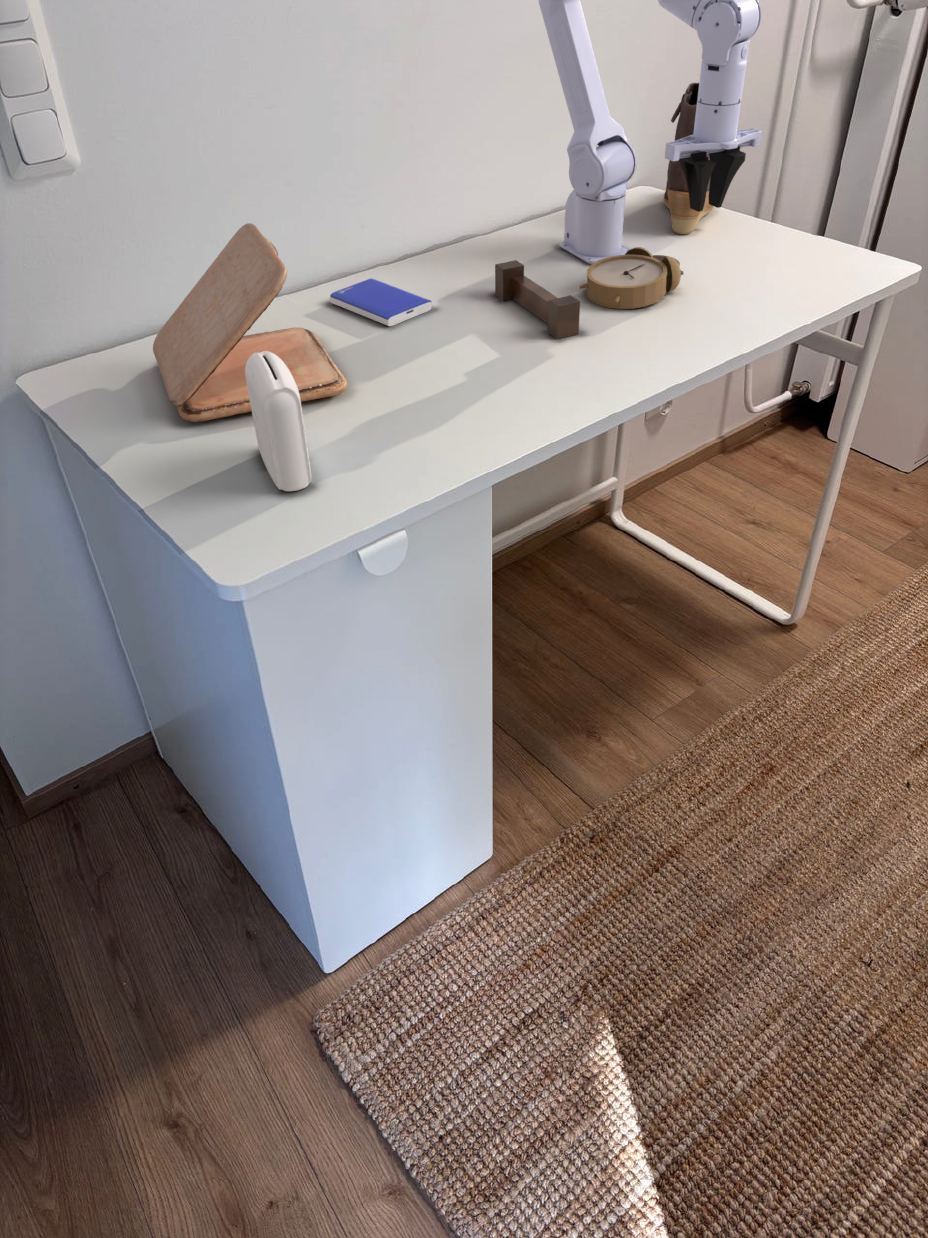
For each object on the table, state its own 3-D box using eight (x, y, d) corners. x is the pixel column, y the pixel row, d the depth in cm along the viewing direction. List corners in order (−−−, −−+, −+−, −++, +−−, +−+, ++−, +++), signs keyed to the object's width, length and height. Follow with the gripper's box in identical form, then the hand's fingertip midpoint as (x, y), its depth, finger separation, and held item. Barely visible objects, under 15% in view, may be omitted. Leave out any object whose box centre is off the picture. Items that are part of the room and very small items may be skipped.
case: (154, 360, 127) (124, 234, 116) (312, 333, 132) (296, 210, 122) (176, 431, 112) (143, 294, 102) (353, 397, 117) (339, 263, 107)
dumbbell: (495, 295, 141) (494, 263, 138) (516, 290, 142) (516, 259, 139) (556, 339, 129) (557, 305, 126) (579, 333, 130) (581, 300, 127)
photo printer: (255, 450, 108) (236, 344, 100) (293, 442, 109) (277, 337, 101) (277, 497, 101) (257, 386, 93) (317, 487, 102) (301, 377, 94)
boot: (714, 193, 174) (731, 66, 162) (713, 239, 156) (731, 100, 144) (664, 192, 176) (677, 65, 163) (657, 237, 158) (671, 99, 145)
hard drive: (329, 293, 139) (387, 316, 132) (372, 276, 143) (431, 298, 136) (330, 304, 140) (388, 327, 133) (373, 287, 144) (432, 309, 137)
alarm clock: (568, 273, 139) (643, 230, 144) (571, 305, 142) (644, 262, 147) (625, 296, 132) (701, 250, 137) (627, 328, 135) (701, 283, 140)
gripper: (692, 113, 124) (680, 223, 133) (782, 99, 129) (765, 206, 137) (660, 102, 129) (650, 209, 138) (748, 89, 134) (733, 193, 142)
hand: (705, 207), depth 138 cm, fingers open, 3 cm apart
